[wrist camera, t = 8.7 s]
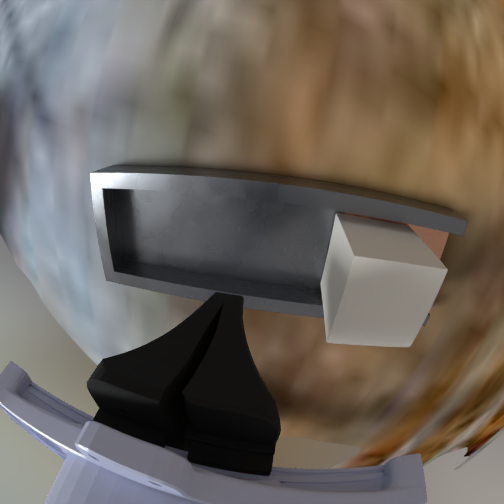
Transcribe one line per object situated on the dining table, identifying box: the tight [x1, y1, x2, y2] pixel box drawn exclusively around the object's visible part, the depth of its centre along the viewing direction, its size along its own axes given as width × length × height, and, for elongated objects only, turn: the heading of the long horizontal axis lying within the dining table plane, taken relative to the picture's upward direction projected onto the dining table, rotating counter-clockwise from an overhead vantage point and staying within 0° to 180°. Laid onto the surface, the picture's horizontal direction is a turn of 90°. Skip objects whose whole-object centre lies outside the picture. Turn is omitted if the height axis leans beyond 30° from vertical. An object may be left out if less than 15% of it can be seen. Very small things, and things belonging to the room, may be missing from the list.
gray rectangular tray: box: [90, 166, 468, 326], centre depth 17 cm, size 8×24×2 cm, turn 86°
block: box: [320, 213, 448, 347], centre depth 14 cm, size 5×5×6 cm
